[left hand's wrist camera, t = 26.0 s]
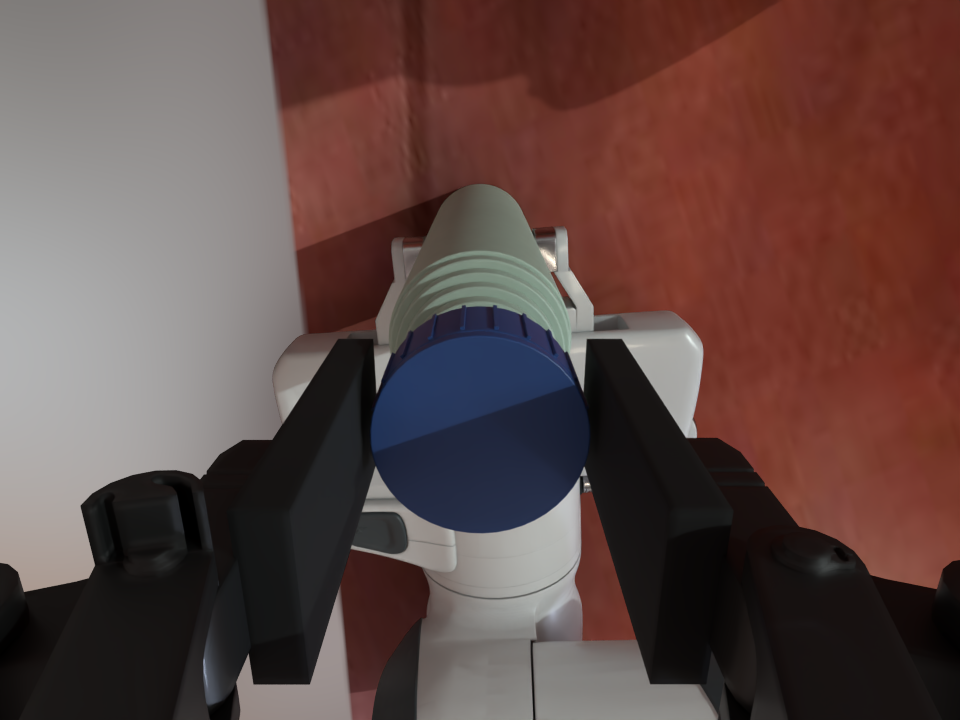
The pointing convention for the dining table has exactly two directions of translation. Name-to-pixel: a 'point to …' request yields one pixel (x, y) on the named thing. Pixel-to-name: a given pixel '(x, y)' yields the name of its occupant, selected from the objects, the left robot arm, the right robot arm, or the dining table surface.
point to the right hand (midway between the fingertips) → (477, 233)
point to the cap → (480, 421)
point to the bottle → (480, 267)
